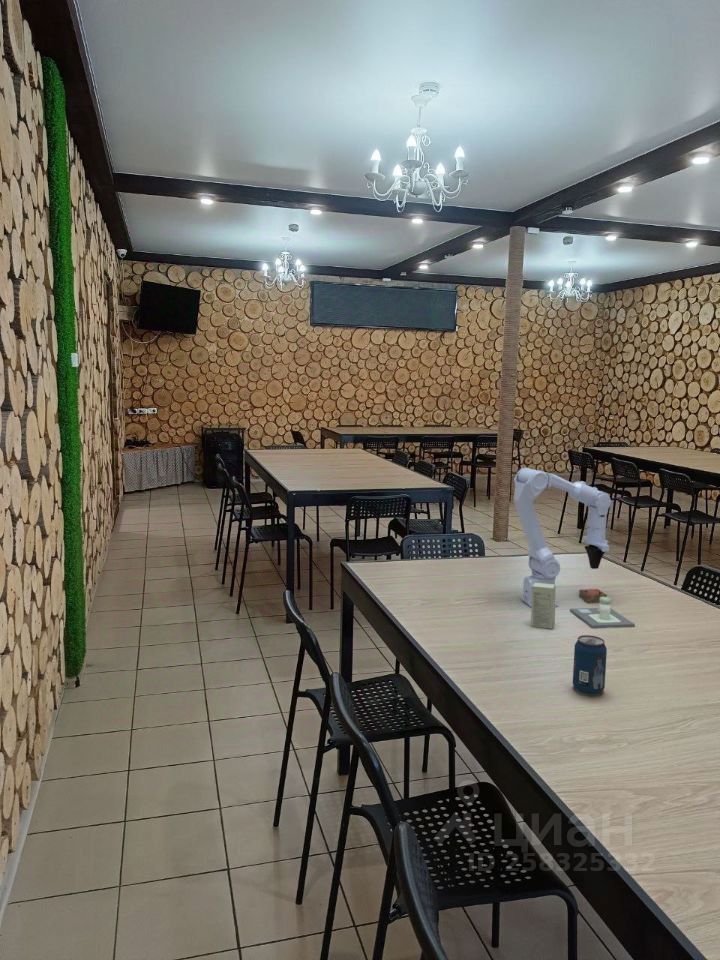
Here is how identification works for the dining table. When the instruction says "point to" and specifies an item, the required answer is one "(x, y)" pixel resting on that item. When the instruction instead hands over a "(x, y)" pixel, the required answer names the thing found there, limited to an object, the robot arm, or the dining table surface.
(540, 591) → the skincare box
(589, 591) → the button
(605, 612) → the pale green cylinder
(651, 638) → the dining table surface
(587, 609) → the picture board
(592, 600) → the button box
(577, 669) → the soda can
